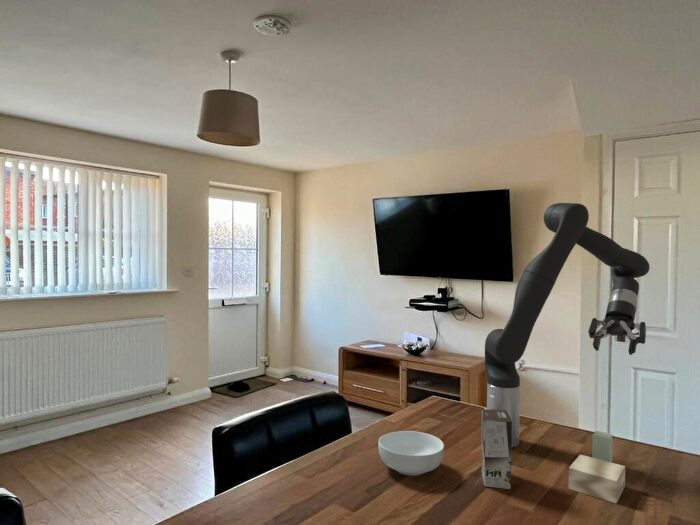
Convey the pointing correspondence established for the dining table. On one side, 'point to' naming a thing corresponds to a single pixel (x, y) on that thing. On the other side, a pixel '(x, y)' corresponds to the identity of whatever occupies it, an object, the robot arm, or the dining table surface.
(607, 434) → the sage block
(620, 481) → the maple block
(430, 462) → the cereal bowl
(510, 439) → the coffee box
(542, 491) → the dining table surface
